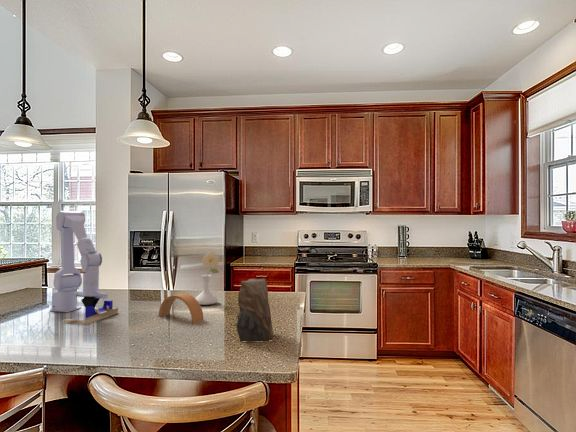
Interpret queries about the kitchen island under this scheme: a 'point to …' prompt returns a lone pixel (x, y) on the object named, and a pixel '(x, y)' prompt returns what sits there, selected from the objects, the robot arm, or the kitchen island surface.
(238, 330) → the dark grey rock
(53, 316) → the kitchen island surface
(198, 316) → the arch
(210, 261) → the flower in vase
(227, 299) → the kitchen island surface
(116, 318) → the kitchen island surface
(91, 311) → the blue pipe clamp half
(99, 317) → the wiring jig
